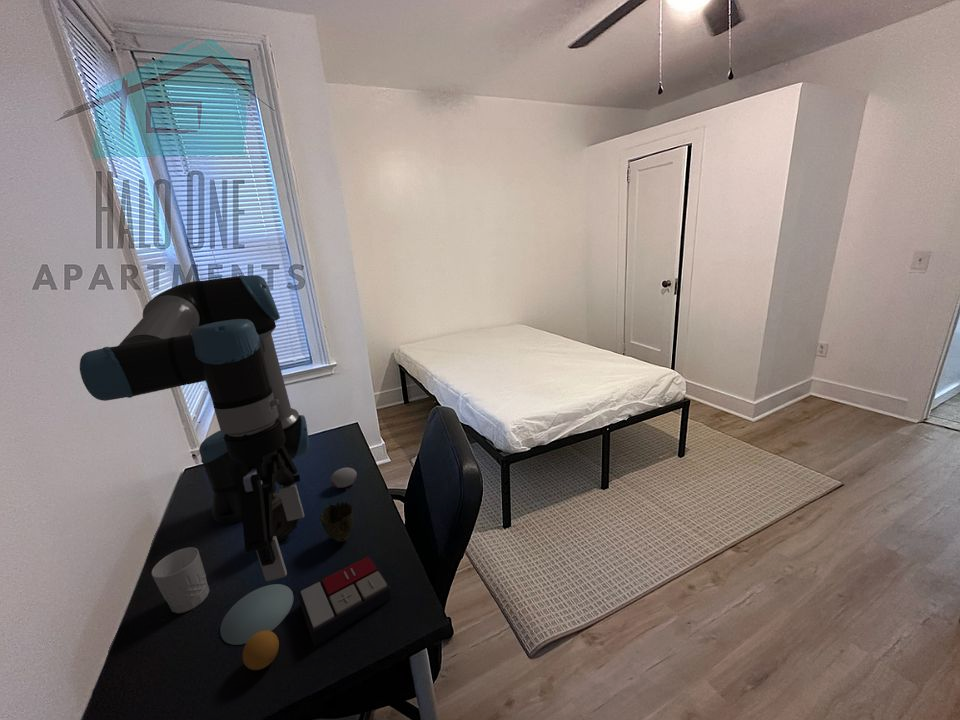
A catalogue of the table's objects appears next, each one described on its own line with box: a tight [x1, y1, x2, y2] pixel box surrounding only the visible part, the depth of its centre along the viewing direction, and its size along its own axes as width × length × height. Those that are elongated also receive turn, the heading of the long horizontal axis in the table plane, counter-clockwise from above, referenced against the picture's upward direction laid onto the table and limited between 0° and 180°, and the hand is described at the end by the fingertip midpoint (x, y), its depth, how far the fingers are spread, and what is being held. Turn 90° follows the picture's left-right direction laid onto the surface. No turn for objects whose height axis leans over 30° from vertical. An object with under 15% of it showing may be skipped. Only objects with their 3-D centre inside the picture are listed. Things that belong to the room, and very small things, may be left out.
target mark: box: [219, 583, 294, 646], centre depth 78 cm, size 13×13×1 cm
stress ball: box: [330, 467, 358, 491], centre depth 117 cm, size 8×8×7 cm
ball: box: [242, 630, 280, 671], centre depth 67 cm, size 6×6×6 cm
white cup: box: [150, 546, 210, 614], centre depth 81 cm, size 8×8×10 cm
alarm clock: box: [265, 484, 300, 543], centre depth 95 cm, size 11×5×16 cm, turn 150°
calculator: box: [297, 556, 392, 647], centre depth 78 cm, size 11×4×15 cm
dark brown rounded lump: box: [319, 501, 354, 544], centre depth 95 cm, size 8×7×8 cm
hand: (287, 544), depth 63 cm, fingers open, 13 cm apart
